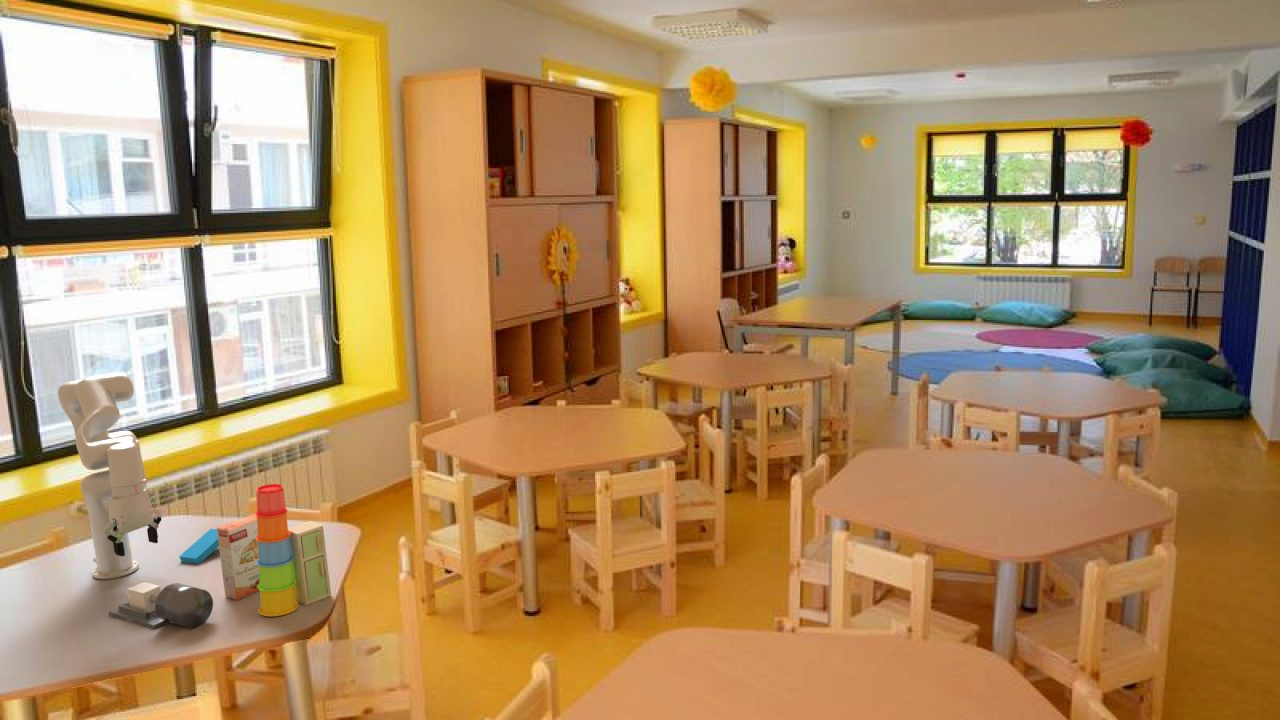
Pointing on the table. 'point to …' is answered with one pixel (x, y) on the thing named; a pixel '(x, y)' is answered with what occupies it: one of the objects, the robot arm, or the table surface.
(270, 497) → the stacking cups
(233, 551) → the cracker box
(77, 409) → the robot arm
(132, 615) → the electric bell
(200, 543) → the blue ramp
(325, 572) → the toy refrigerator
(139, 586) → the block
